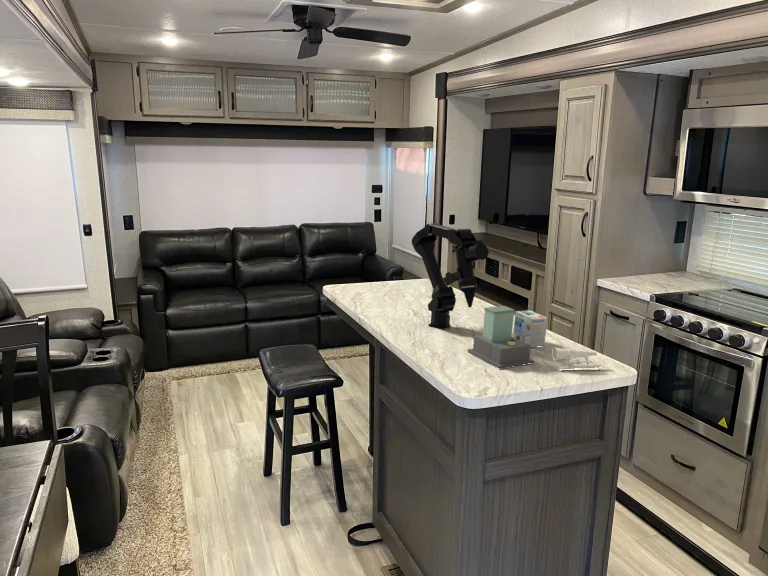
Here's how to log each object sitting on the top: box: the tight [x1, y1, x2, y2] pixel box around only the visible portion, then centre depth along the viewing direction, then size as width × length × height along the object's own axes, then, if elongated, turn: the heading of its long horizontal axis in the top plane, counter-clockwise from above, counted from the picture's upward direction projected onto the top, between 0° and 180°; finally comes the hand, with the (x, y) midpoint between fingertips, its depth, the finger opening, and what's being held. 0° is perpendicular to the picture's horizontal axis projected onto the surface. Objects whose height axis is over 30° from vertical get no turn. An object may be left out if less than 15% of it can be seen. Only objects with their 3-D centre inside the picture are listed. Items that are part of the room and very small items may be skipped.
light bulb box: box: [512, 309, 548, 348], centre depth 204 cm, size 11×7×11 cm, turn 21°
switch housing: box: [467, 335, 535, 369], centre depth 187 cm, size 17×14×7 cm
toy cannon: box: [551, 347, 602, 369], centre depth 181 cm, size 8×14×5 cm
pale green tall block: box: [482, 305, 516, 344], centre depth 188 cm, size 5×8×15 cm, turn 117°
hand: (469, 307), depth 203 cm, fingers closed
